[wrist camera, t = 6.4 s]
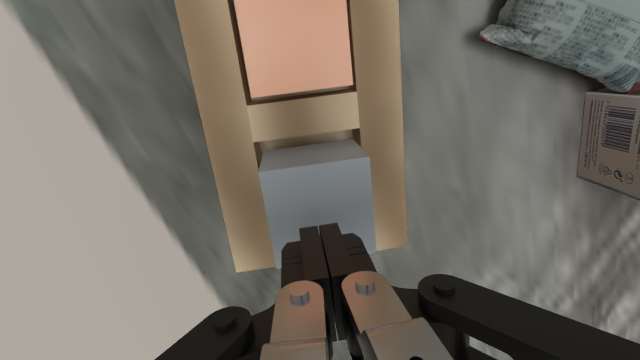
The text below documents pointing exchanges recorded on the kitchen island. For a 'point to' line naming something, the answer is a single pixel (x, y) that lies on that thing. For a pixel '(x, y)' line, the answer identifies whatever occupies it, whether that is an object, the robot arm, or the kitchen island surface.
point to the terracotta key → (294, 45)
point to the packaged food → (575, 36)
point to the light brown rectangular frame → (296, 119)
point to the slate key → (317, 192)
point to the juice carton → (611, 140)
